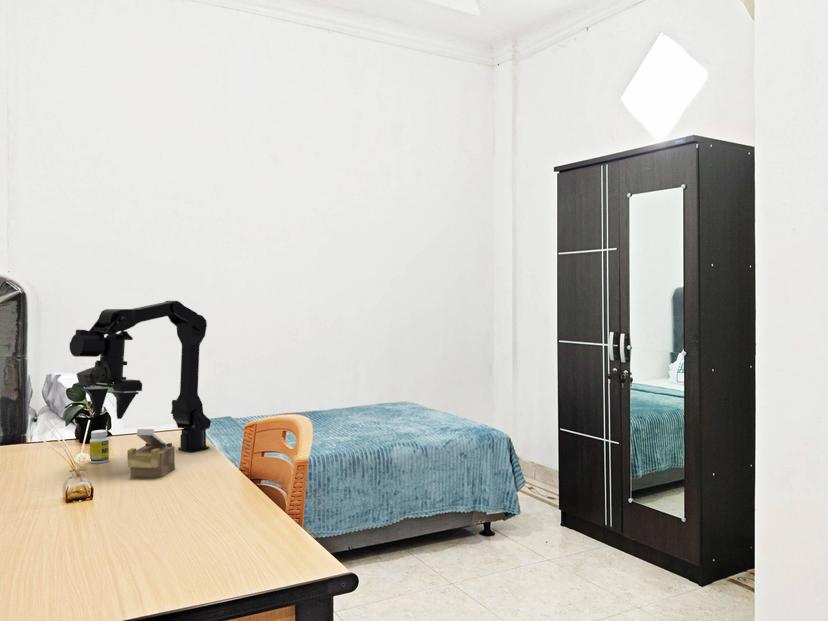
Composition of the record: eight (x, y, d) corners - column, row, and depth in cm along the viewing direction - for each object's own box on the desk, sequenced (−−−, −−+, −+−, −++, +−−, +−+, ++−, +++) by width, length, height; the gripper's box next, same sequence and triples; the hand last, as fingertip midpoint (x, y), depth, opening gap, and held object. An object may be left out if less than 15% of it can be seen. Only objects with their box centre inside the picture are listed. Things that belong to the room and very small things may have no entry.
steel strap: (151, 446, 179) (152, 440, 180) (166, 446, 179) (167, 441, 180) (136, 434, 171) (137, 429, 172) (152, 435, 171) (153, 429, 171)
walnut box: (145, 468, 180) (144, 441, 180) (174, 468, 179) (174, 441, 179) (126, 479, 170) (125, 450, 169) (157, 479, 169) (157, 450, 169)
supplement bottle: (103, 463, 185) (103, 432, 185) (86, 463, 185) (86, 433, 185) (112, 459, 190) (111, 429, 190) (95, 459, 190) (94, 429, 190)
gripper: (61, 355, 177) (57, 416, 176) (106, 358, 167) (102, 422, 166) (100, 355, 186) (97, 413, 185) (145, 358, 177) (141, 419, 176)
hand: (108, 417), depth 178 cm, fingers open, 9 cm apart
